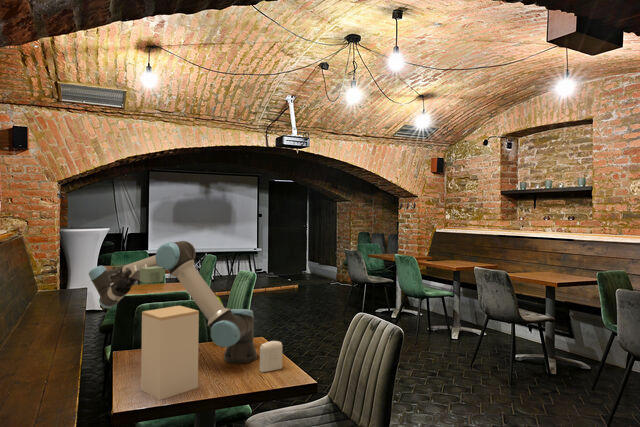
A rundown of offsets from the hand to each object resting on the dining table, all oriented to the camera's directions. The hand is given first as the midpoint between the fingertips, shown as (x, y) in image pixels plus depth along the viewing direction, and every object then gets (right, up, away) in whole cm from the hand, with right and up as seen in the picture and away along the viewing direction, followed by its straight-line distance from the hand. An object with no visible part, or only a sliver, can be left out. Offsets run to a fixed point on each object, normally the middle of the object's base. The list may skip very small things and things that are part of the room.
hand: (140, 267), depth 188 cm
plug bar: (+1, -5, -1) cm, 5 cm away
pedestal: (+18, -45, -16) cm, 51 cm away
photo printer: (+54, -46, +6) cm, 71 cm away
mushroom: (+22, -45, +42) cm, 66 cm away
